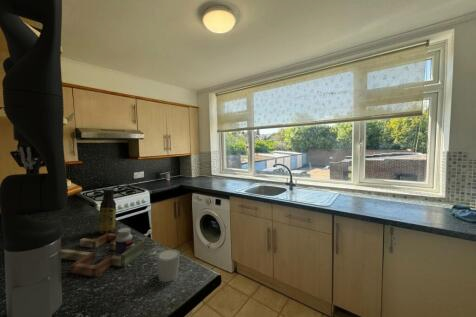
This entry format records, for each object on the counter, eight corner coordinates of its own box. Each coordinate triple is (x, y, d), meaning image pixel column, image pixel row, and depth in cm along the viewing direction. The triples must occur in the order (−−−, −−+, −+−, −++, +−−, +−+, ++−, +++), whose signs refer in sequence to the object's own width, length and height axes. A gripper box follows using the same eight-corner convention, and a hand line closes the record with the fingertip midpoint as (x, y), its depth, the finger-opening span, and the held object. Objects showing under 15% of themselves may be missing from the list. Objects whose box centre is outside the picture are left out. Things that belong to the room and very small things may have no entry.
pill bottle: (128, 260, 70) (128, 233, 70) (112, 260, 70) (112, 233, 69) (135, 252, 76) (135, 226, 75) (120, 252, 75) (120, 226, 75)
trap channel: (38, 268, 64) (37, 256, 64) (96, 237, 86) (95, 228, 86) (110, 278, 60) (110, 266, 60) (152, 243, 82) (152, 234, 82)
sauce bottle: (96, 235, 88) (96, 190, 87) (102, 229, 94) (101, 187, 93) (113, 234, 90) (113, 190, 88) (117, 228, 96) (117, 187, 94)
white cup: (171, 266, 68) (172, 246, 67) (184, 275, 63) (184, 254, 63) (152, 276, 62) (152, 254, 62) (164, 286, 58) (164, 263, 57)
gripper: (-3, 124, 60) (-1, 182, 60) (36, 123, 58) (38, 183, 59) (26, 127, 67) (27, 179, 68) (62, 127, 66) (63, 179, 66)
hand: (33, 180), depth 63 cm, fingers closed
